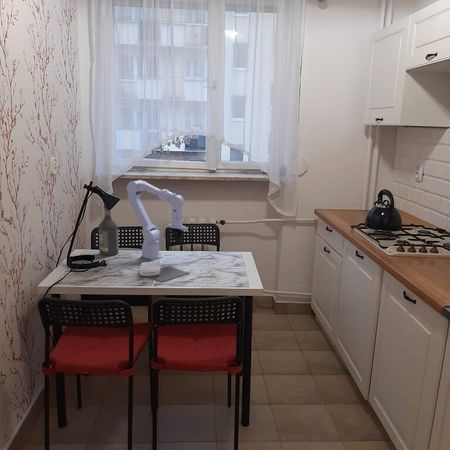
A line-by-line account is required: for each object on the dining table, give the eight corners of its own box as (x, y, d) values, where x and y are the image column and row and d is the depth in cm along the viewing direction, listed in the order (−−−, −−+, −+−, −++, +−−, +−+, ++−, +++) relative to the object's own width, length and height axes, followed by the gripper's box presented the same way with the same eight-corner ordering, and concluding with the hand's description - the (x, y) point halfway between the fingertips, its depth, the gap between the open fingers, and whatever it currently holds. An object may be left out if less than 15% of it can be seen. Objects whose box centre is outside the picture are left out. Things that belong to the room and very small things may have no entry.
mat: (140, 274, 218) (140, 273, 218) (168, 266, 231) (168, 266, 231) (161, 282, 208) (161, 281, 208) (189, 273, 221) (189, 272, 221)
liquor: (112, 250, 259) (111, 200, 253) (120, 254, 253) (118, 202, 246) (98, 253, 254) (96, 201, 247) (105, 256, 247) (103, 204, 241)
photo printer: (160, 261, 225) (160, 268, 213) (160, 269, 226) (160, 277, 214) (140, 261, 223) (138, 269, 211) (140, 269, 224) (138, 277, 212)
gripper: (162, 216, 240) (163, 241, 242) (180, 220, 230) (180, 245, 233) (172, 215, 245) (172, 238, 248) (190, 218, 235) (190, 243, 238)
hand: (177, 242), depth 241 cm, fingers closed
